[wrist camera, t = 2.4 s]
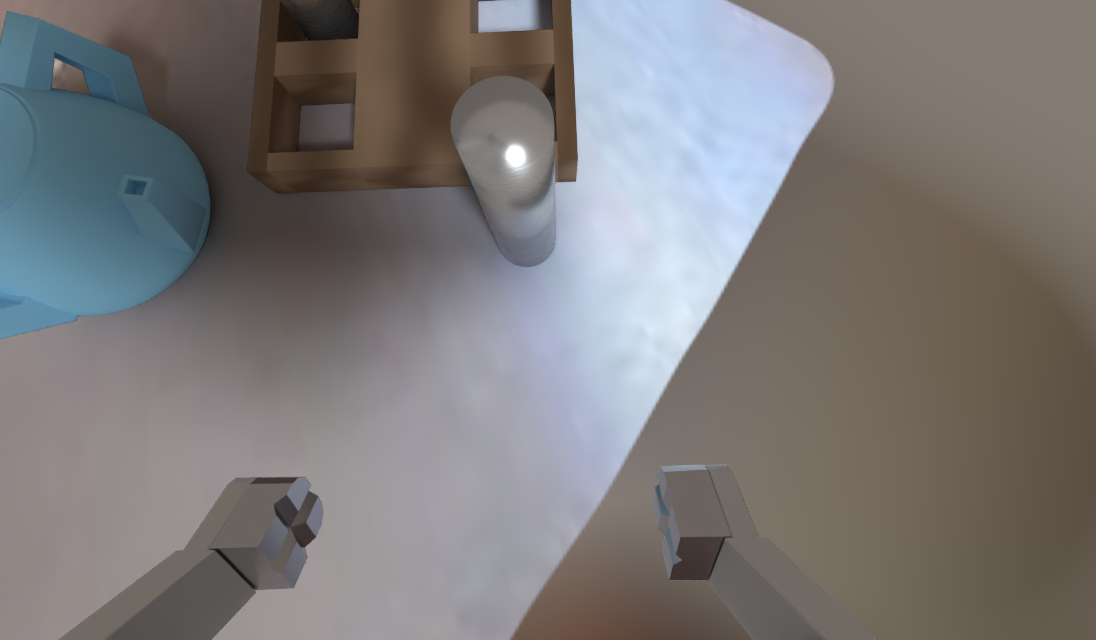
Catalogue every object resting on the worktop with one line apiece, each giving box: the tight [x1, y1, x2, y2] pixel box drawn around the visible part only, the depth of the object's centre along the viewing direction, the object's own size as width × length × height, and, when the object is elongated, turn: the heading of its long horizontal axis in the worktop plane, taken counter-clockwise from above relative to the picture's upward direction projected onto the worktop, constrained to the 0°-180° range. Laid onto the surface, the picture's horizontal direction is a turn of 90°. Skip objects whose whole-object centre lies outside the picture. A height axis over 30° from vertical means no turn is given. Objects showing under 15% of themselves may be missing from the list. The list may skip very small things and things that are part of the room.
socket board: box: [247, 0, 578, 193], centre depth 30 cm, size 21×16×3 cm
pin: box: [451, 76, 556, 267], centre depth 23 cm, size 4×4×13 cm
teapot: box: [0, 11, 210, 339], centre depth 25 cm, size 15×15×11 cm
